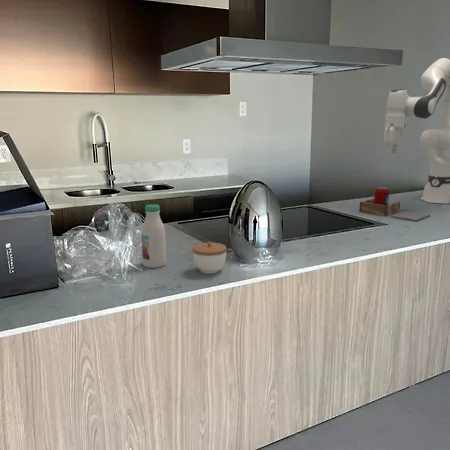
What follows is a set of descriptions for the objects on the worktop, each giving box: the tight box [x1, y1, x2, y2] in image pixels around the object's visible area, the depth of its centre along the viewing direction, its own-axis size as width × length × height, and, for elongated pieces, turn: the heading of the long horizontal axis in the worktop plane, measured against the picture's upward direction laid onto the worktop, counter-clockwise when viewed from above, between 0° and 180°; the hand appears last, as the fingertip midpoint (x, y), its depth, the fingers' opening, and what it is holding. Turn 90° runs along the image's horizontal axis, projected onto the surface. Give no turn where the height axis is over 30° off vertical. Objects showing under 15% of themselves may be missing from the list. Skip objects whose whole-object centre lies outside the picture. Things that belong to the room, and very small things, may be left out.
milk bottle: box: [141, 204, 167, 269], centre depth 151 cm, size 8×8×20 cm
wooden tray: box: [358, 197, 401, 217], centre depth 230 cm, size 14×14×5 cm
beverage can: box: [373, 186, 390, 205], centre depth 230 cm, size 7×7×12 cm
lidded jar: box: [191, 241, 227, 275], centre depth 147 cm, size 11×11×9 cm
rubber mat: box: [390, 210, 431, 223], centre depth 219 cm, size 15×12×1 cm
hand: (391, 153), depth 224 cm, fingers open, 8 cm apart
